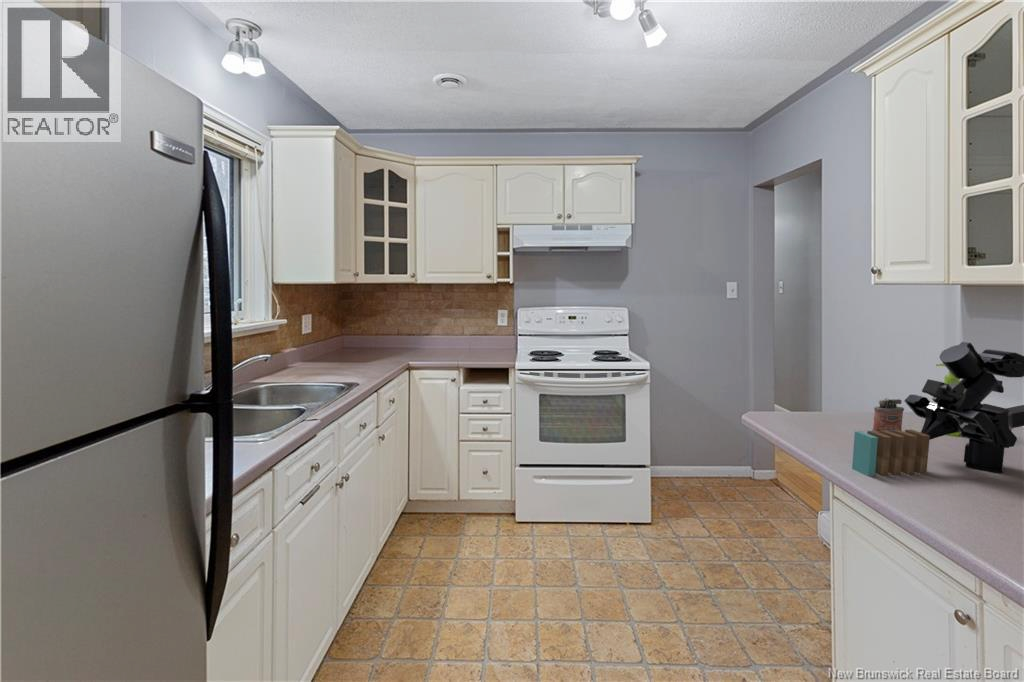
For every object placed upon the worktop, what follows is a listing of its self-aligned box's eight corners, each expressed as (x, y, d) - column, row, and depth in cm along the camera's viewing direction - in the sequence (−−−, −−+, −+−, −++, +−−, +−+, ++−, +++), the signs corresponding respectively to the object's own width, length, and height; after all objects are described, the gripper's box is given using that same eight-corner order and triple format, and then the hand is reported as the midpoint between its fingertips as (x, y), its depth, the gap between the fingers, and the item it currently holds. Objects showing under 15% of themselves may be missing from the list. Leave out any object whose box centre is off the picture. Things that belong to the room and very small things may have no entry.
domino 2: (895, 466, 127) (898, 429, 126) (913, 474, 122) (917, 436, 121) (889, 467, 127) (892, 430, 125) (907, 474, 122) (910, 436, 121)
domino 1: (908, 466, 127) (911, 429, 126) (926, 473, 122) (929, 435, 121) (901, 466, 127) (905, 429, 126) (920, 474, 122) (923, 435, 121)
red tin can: (877, 434, 153) (880, 400, 151) (869, 431, 156) (872, 397, 155) (905, 434, 153) (908, 400, 152) (896, 431, 156) (899, 397, 155)
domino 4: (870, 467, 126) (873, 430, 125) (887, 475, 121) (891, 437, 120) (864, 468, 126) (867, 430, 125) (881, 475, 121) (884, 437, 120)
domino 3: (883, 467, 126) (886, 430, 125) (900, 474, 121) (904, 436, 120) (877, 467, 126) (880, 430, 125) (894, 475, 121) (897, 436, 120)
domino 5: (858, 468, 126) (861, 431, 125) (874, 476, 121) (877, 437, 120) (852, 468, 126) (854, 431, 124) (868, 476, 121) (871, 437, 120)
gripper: (915, 362, 132) (869, 406, 132) (989, 375, 113) (937, 427, 113) (940, 392, 133) (896, 436, 133) (1018, 411, 115) (966, 462, 115)
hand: (921, 439), depth 124 cm, fingers closed
